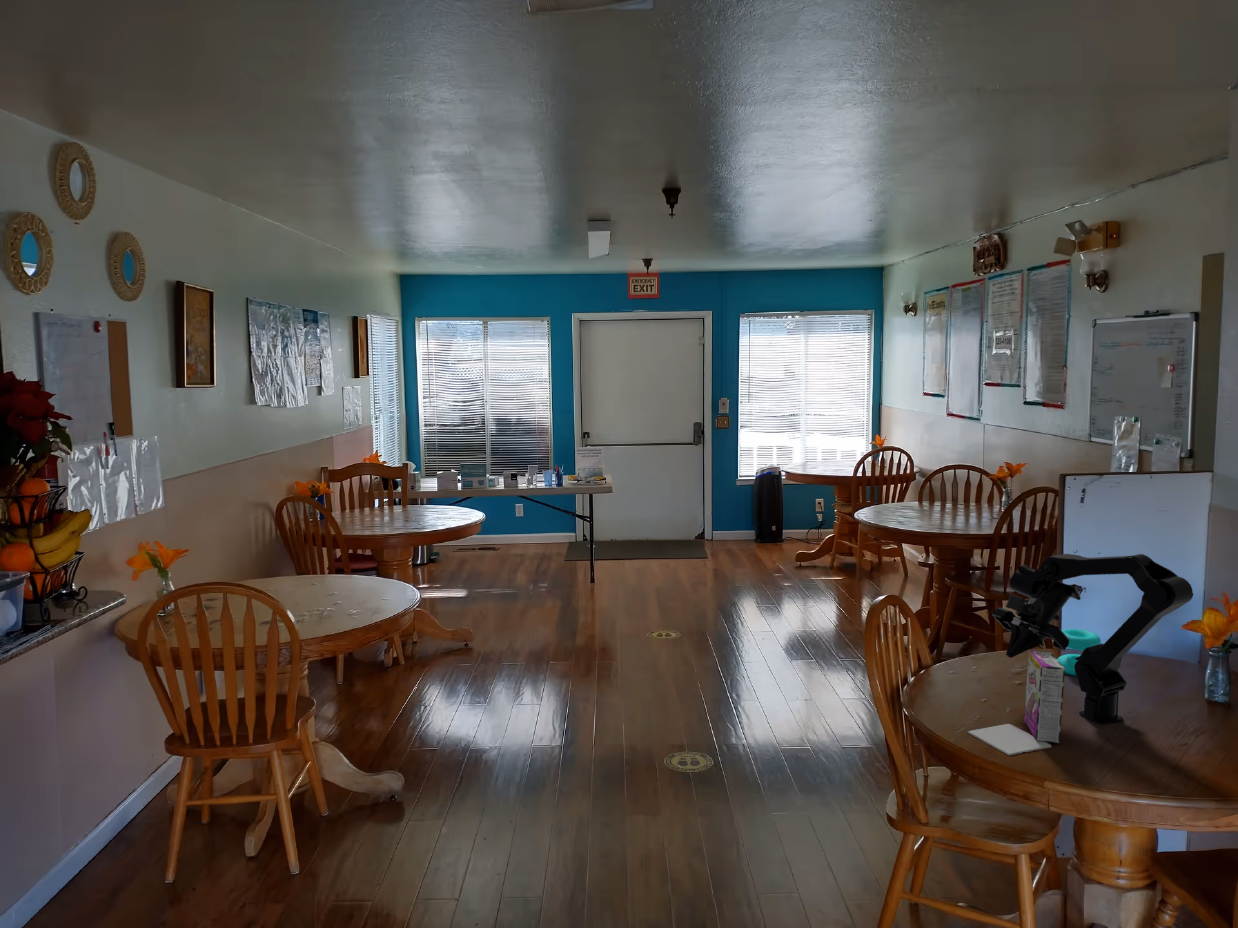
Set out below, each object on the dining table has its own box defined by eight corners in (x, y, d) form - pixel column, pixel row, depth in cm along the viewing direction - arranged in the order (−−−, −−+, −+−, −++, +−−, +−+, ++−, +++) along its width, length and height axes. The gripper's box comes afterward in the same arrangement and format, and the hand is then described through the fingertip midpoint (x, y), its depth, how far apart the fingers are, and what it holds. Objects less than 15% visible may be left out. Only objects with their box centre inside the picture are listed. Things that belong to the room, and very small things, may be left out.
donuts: (1050, 627, 235) (1088, 627, 235) (1048, 664, 236) (1087, 664, 236) (1068, 639, 225) (1108, 638, 225) (1067, 678, 226) (1107, 677, 226)
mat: (1008, 725, 198) (1008, 723, 198) (1051, 747, 187) (1051, 745, 187) (968, 732, 195) (968, 731, 194) (1008, 755, 183) (1008, 753, 183)
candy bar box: (1022, 721, 199) (1027, 649, 198) (1046, 724, 198) (1052, 651, 197) (1034, 741, 188) (1040, 665, 187) (1060, 744, 187) (1066, 667, 186)
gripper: (999, 574, 215) (960, 624, 213) (1060, 591, 198) (1019, 646, 195) (1024, 602, 219) (986, 652, 216) (1087, 622, 201) (1046, 677, 199)
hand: (1008, 656), depth 207 cm, fingers closed
